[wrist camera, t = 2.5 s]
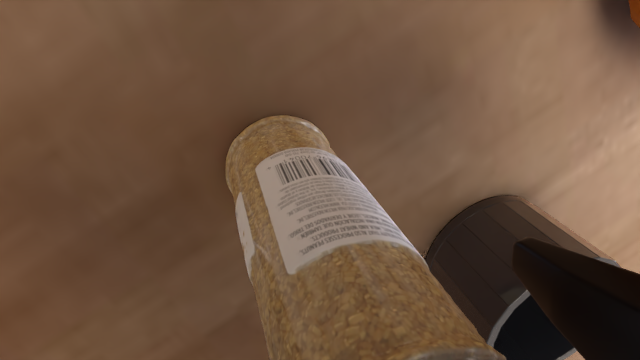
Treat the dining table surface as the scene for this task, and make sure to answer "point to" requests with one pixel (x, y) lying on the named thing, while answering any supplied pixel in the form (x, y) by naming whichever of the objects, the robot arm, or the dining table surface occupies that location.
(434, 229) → the dining table surface
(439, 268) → the ceramic cup
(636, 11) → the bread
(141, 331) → the dining table surface
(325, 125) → the dining table surface
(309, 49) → the dining table surface
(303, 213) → the sprinkles bottle
